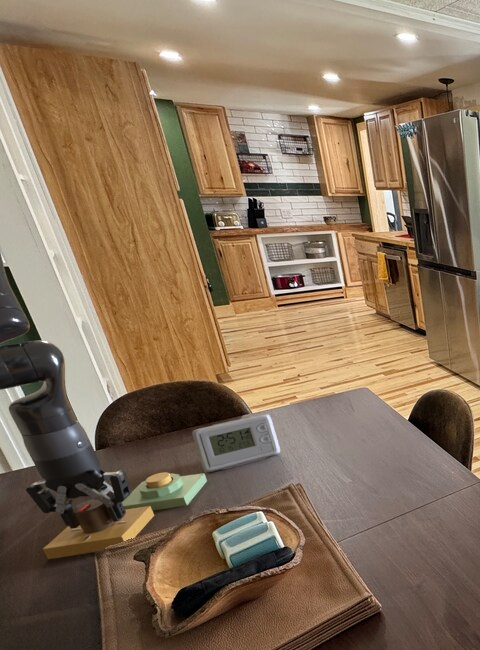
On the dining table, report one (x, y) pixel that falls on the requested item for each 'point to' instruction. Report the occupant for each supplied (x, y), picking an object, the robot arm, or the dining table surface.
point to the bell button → (158, 480)
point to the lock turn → (93, 516)
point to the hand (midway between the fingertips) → (98, 522)
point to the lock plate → (98, 535)
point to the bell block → (166, 493)
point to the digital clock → (236, 442)
